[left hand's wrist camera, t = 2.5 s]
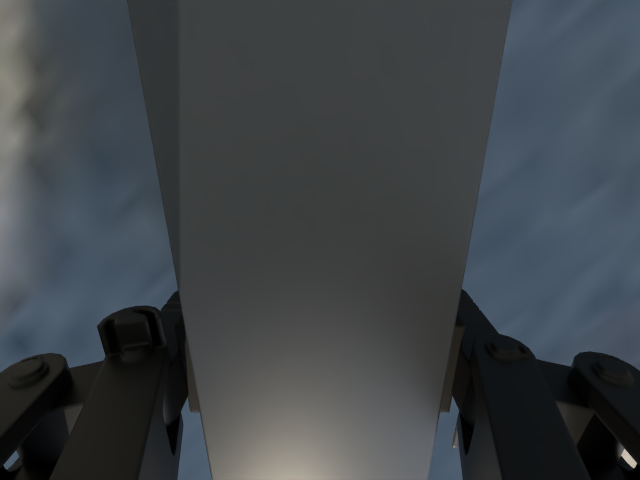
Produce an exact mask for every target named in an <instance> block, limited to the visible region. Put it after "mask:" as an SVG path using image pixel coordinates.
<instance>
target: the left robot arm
mask: <svg viewBox="0 0 640 480" xmlns="http://www.w3.org/2000/svg"><path fill="white" fill-rule="evenodd" d="M97 328H98V331H99V335H100V338H101V342H102V345H103V349H104V352H105V355H106V356H105V358H104V361H100V362H96V363H92V364H87V365H82V366H77V367H73V368H69V367H68V364H67V361H66V358H65V357H63V356H62V355H61V354H54V353H48V354H40V355H35V356H32V357H28V358H26V359H23V360H21V361H19V362H17V363H15V364H13V365H11V366H9V367H8V368H7V369H5V370H4V371H2V372H1V373H0V480H177V477H178V468H179V460H180V451H181V442H182V433H183V419H182V414H181V410H182V408H183V405H184V403H185V401H186V399H187V397H188V401H189V407H190V412H200V410H199V404H198V398H197V393H196V387H195V381H194V376H193V370H192V364H191V359H190V353H189V347H188V342H187V336H186V330H185V325H184V319H183V313H182V308H181V302H180V296H179V291H176V292H175V293H174V294H173V295H172V296H171V297H170V299H169V300H168V301H167V304H165V305H164V306H163V308H162V309H161V311H159V310H158V309H157V308H156V307H151V306H134V307H130V308H125V309H122V310H120V311H117V312H115V313H112V314H111V315H109V316H108V317H106V318H104V319H103V320H102V321H101V322H100V323H99V324H98V326H97ZM452 395H453V398H454V400H455V402H456V404H457V406H458V409H459V414H458V419H457V424H456V429H455V434H454V439H453V445H452V447H455V448H457V445H458V441H459V450H460V459H461V468H462V476H463V480H640V371H639V370H638V369H636V368H635V367H633V366H632V365H630V364H628V363H626V362H624V361H622V360H620V359H619V358H616V357H614V356H611V355H610V356H609V355H607V354H603V353H597V352H582V353H579V354H578V355H576V356H575V357H574V360H573V363H572V366H571V367H570V366H565V365H560V364H555V363H551V362H546V361H542V360H538V359H536V358H535V356H534V354H533V353H532V352H531V350H530V349H529V348H528V347H527V346H525V345H524V344H523V343H521V342H520V341H518V340H515V339H513V338H511V337H509V336H505V335H501V334H499V333H498V332H497V331H496V329H495V328H494V327H493V326H492V324H491V323H490V322H489V321H488V319H487V318H486V317H485V315H484V314H483V313H482V312H481V310H479V308H478V307H477V305H476V304H475V303H473V300H472V299H471V298H470V296H469V295H468V294H467V293H466V291H464V290H462V289H461V294H460V300H459V306H458V311H457V317H456V323H455V328H454V334H453V340H452V345H451V351H450V357H449V362H448V368H447V374H446V379H445V385H444V391H443V396H442V402H441V408H440V412H449V411H450V405H451V400H452ZM624 448H625V449H626V451H627V452H628V453H629V454H630V455H631V456H632V458H633V459H634V460H635V461H636V462H637V465H636V467H635V468H632V467H631V466H630V465H629V464H628V463H627V462H626V461H625V460H624V458H623V457H622V456H621V454H622V452H623V450H624ZM15 451H17V453H18V455H19V458H18V459H17V460H16V462H15V463H14V464H13V465H12V466H11V467H10V468H8V469H7V470H6V469H5V468H4V466H3V465H4V463H5V462H6V461H7V460H8V459H9V458H10V456H11V455H12V454H13V453H14V452H15Z"/></svg>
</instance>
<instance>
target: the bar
mask: <svg viewBox="0 0 640 480" xmlns="http://www.w3.org/2000/svg"><path fill="white" fill-rule="evenodd" d="M127 2H128V8H129V14H130V19H131V25H132V30H133V36H134V42H135V47H136V53H137V59H138V64H139V70H140V76H141V81H142V87H143V93H144V98H145V104H146V110H147V115H148V121H149V127H150V132H151V138H152V144H153V149H154V155H155V161H156V166H157V172H158V178H159V183H160V189H161V195H162V200H163V206H164V212H165V217H166V223H167V229H168V234H169V240H170V246H171V251H172V257H173V262H174V268H175V274H176V279H177V285H178V291H179V296H180V302H181V308H182V313H183V319H184V325H185V330H186V336H187V342H188V347H189V353H190V359H191V364H192V370H193V376H194V381H195V387H196V393H197V398H198V404H199V410H200V415H201V421H202V427H203V432H204V438H205V444H206V449H207V455H208V461H209V466H210V472H211V478H212V480H428V476H429V470H430V465H431V459H432V453H433V448H434V442H435V436H436V431H437V425H438V419H439V413H440V408H441V402H442V396H443V391H444V385H445V379H446V374H447V368H448V362H449V357H450V351H451V345H452V340H453V334H454V328H455V323H456V317H457V311H458V306H459V300H460V294H461V289H462V283H463V277H464V272H465V266H466V260H467V255H468V249H469V243H470V238H471V232H472V226H473V221H474V215H475V209H476V204H477V198H478V192H479V187H480V181H481V175H482V170H483V164H484V158H485V152H486V147H487V141H488V135H489V130H490V124H491V118H492V113H493V107H494V101H495V96H496V90H497V84H498V79H499V73H500V67H501V62H502V56H503V50H504V45H505V39H506V33H507V28H508V22H509V16H510V11H511V5H512V0H127Z"/></svg>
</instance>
